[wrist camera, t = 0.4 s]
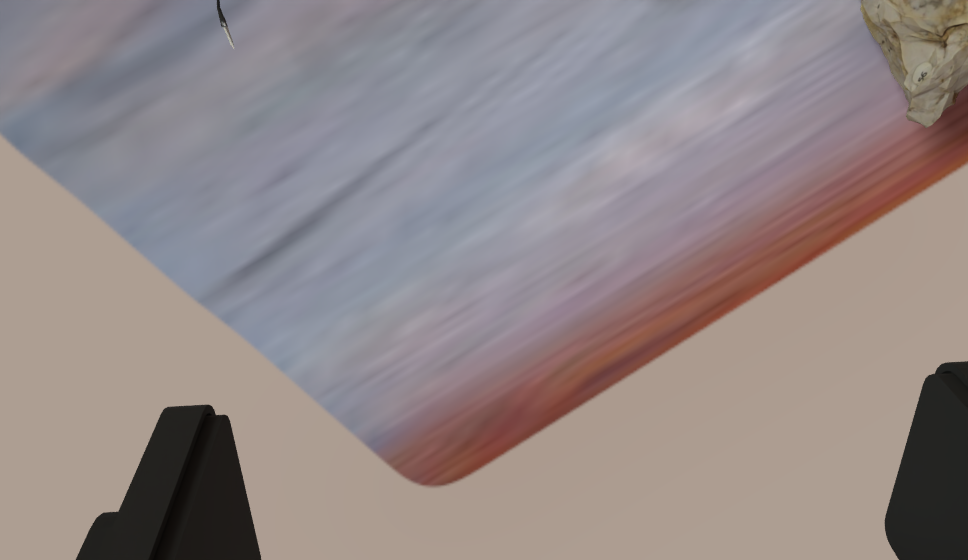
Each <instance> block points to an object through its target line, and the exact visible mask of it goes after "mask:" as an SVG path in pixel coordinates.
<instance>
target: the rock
mask: <svg viewBox="0 0 968 560" xmlns="http://www.w3.org/2000/svg"><path fill="white" fill-rule="evenodd" d="M861 3H862V4H861V9H860V10H861V12H862V14H863V18H864V21H865V22H866V24H867V26H868V28H869V30H870V32H871V34H872V36H873V38H874V39H875V40H876V41H877V42H878V43H879V44H880V46H881V47H882V50H883V53H884V55H885V57H886V58H887V59H888V61H889V65H890V69H891V73H892V74H893V76H894V78H895V79H896V81H897V82H898V83H899V85H900V86H901V87H902V88H903V91H904V93H905V96H906V99H907V100H908V102H909V107H908V111H907V115H906V117H907V119H908V120H910V121H914V122H917V123H920V124H922V125H923V126H925V127H926V128H928V127H929V126H931V125H932V124H933V123H934V122H935V121H936V120H937V119H938V118H939V117H940V116H941V114H942V112H943V111H944V110H945V109H946V108H948V107H949V106H951V105H953V104H955V101H956V98H957V95H958V93H959V92H960V91H961V90H962V89H963V88H964V87H965V86H966V85H968V0H861Z"/></svg>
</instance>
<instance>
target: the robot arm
mask: <svg viewBox="0 0 968 560" xmlns="http://www.w3.org/2000/svg"><path fill="white" fill-rule="evenodd" d="M885 531H886V536H887V539H888V542H889V544H890V545H891V547H892V549H893V551H894V552H895V554H896V556H897V557H898V559H899V560H968V361H967V362H949V363H944V364H941V365H940V366H939V367H938V368H937V370H936V372H935V374H932V375H929V376H928V377H927V378H926V379H925V381H924V384H923V387H922V390H921V394H920V397H919V401H918V404H917V408H916V411H915V415H914V418H913V422H912V426H911V429H910V432H909V436H908V439H907V443H906V446H905V450H904V453H903V457H902V460H901V464H900V467H899V471H898V474H897V478H896V481H895V485H894V488H893V492H892V495H891V499H890V503H889V506H888V509H887V513H886V518H885ZM76 560H261V555H260V551H259V546H258V542H257V538H256V533H255V529H254V524H253V520H252V516H251V511H250V507H249V502H248V498H247V494H246V489H245V485H244V481H243V476H242V472H241V467H240V463H239V459H238V454H237V450H236V446H235V441H234V437H233V433H232V428H231V424H230V420H229V418H228V416H226V415H216V414H215V411H214V409H213V407H212V406H210V405H194V406H176V407H167V408H165V409H164V410H163V412H162V413H161V415H160V418H159V420H158V422H157V424H156V427H155V429H154V431H153V434H152V436H151V438H150V441H149V443H148V445H147V447H146V450H145V452H144V454H143V457H142V459H141V461H140V464H139V466H138V468H137V470H136V473H135V475H134V477H133V480H132V482H131V484H130V486H129V489H128V491H127V493H126V496H125V498H124V500H123V503H122V505H121V507H120V510H119V512H108V513H102V514H101V515H100V516H98V517H97V518H96V520H95V521H94V523H93V525H92V526H91V528H90V530H89V532H88V534H87V537H86V539H85V541H84V543H83V545H82V547H81V549H80V552H79V554H78V556H77V558H76Z"/></svg>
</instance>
